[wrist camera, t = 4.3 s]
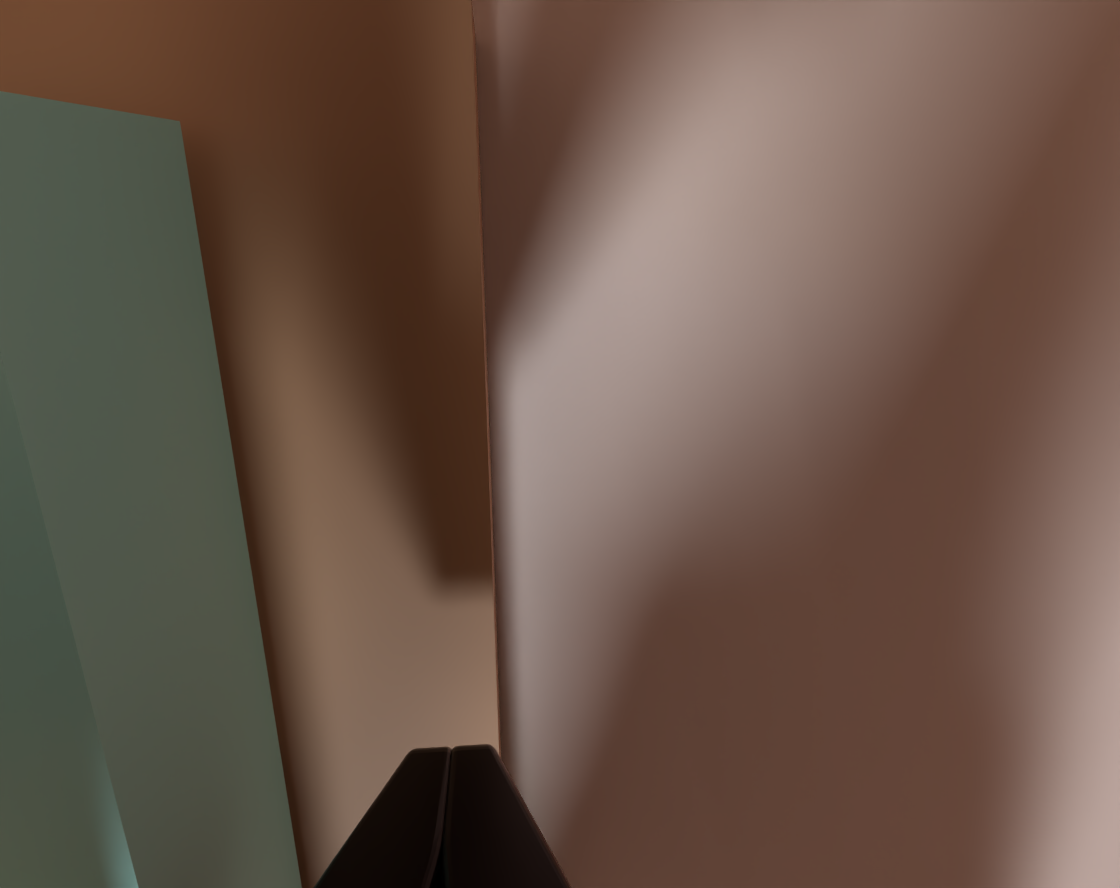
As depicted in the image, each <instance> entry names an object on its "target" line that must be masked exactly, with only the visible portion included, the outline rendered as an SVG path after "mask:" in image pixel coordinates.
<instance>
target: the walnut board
mask: <svg viewBox="0 0 1120 888" xmlns="http://www.w3.org/2000/svg"><path fill="white" fill-rule="evenodd" d="M0 91H3V92H9V93H15V94H21V95H27V96H33V97H39V98H45V99H51V100H56V101H62V102H68V103H74V104H80V105H86V106H92V107H98V108H104V109H110V110H116V111H122V112H128V113H134V114H140V115H146V116H152V117H158V118H164V119H170V120H176V121H180V125H181V131H182V137H183V144H184V150H185V156H186V162H187V169H188V175H189V181H190V188H191V194H192V200H193V206H194V213H195V219H196V225H197V232H198V238H199V244H200V251H201V257H202V263H203V269H204V276H205V282H206V288H207V295H208V301H209V307H210V313H211V320H212V326H213V332H214V339H215V345H216V351H217V357H218V364H219V370H220V376H221V383H222V389H223V395H224V401H225V408H226V414H227V420H228V427H229V433H230V439H231V445H232V452H233V458H234V464H235V471H236V477H237V483H238V489H239V496H240V502H241V508H242V515H243V521H244V527H245V533H246V540H247V546H248V552H249V559H250V565H251V571H252V577H253V584H254V590H255V596H256V603H257V609H258V615H259V622H260V628H261V634H262V640H263V647H264V653H265V659H266V666H267V672H268V678H269V684H270V691H271V697H272V703H273V710H274V716H275V722H276V728H277V735H278V741H279V747H280V754H281V760H282V766H283V772H284V779H285V785H286V791H287V798H288V804H289V810H290V816H291V823H292V829H293V835H294V842H295V848H296V854H297V860H298V867H299V873H300V879H301V886H302V888H313V887H314V886H315V885H316V883H317V882H318V880H319V879H320V877H321V876H322V875H323V873H324V872H325V870H326V869H327V867H328V866H329V865H330V863H331V862H332V860H333V859H334V858H335V856H336V855H337V853H338V852H339V850H340V849H341V848H342V846H343V845H344V843H345V842H346V840H347V839H348V838H349V836H350V835H351V833H352V832H353V830H354V829H355V828H356V826H357V825H358V823H359V822H360V820H361V819H362V818H363V816H364V815H365V813H366V812H367V810H368V809H369V808H370V806H371V805H372V803H373V802H374V800H375V799H376V798H377V796H378V795H379V793H380V792H381V791H382V789H383V788H384V786H385V785H386V783H387V782H388V781H389V779H390V778H391V776H392V775H393V773H394V772H395V771H396V769H397V768H398V766H399V765H400V763H401V762H402V761H403V759H404V758H405V756H406V755H407V754H408V752H410V751H411V750H413V749H416V748H429V747H445V746H446V747H450V748H451V749H453V748H454V747H455V746H462V745H478V744H490V745H492V746H493V747H494V748H495V749H496V750H497V752H498V754H499V756H500V758H501V739H500V711H499V683H498V655H497V627H496V600H495V572H494V544H493V516H492V488H491V460H490V432H489V404H488V376H487V348H486V320H485V292H484V264H483V236H482V209H481V181H480V153H479V125H478V97H477V69H476V41H475V29H474V19H473V9H472V0H0Z"/></svg>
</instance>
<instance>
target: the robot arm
mask: <svg viewBox="0 0 1120 888" xmlns="http://www.w3.org/2000/svg"><path fill="white" fill-rule="evenodd" d="M313 888H571V886H570V884H569V883H568V881H567V879H566V877H565V875H564V873H563V872H562V870H561V868H560V866H559V864H558V862H557V860H556V859H555V857H554V855H553V853H552V851H551V849H550V848H549V846H548V844H547V842H546V840H545V838H544V837H543V835H542V833H541V831H540V829H539V827H538V826H537V824H536V822H535V820H534V818H533V816H532V815H531V813H530V811H529V809H528V807H527V805H526V804H525V802H524V800H523V798H522V796H521V794H520V793H519V791H518V789H517V787H516V785H515V783H514V782H513V780H512V778H511V776H510V774H509V772H508V771H507V769H506V767H505V765H504V763H503V761H502V760H501V758H500V756H499V754H498V752H497V750H496V749H495V748H494V747H493V746H492V745H490V744H478V745H462V746H455V747H454V748H453V749H451V748H450V747H446V746H445V747H429V748H416V749H413V750H411V751H410V752H408V754H407V755H406V756H405V758H404V759H403V761H402V762H401V763H400V765H399V766H398V768H397V769H396V771H395V772H394V773H393V775H392V776H391V778H390V779H389V781H388V782H387V783H386V785H385V786H384V788H383V789H382V791H381V792H380V793H379V795H378V796H377V798H376V799H375V800H374V802H373V803H372V805H371V806H370V808H369V809H368V810H367V812H366V813H365V815H364V816H363V818H362V819H361V820H360V822H359V823H358V825H357V826H356V828H355V829H354V830H353V832H352V833H351V835H350V836H349V838H348V839H347V840H346V842H345V843H344V845H343V846H342V848H341V849H340V850H339V852H338V853H337V855H336V856H335V858H334V859H333V860H332V862H331V863H330V865H329V866H328V867H327V869H326V870H325V872H324V873H323V875H322V876H321V877H320V879H319V880H318V882H317V883H316V885H315V886H314V887H313Z"/></svg>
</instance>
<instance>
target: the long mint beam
mask: <svg viewBox="0 0 1120 888" xmlns="http://www.w3.org/2000/svg"><path fill="white" fill-rule="evenodd" d="M0 888H302V886H301V879H300V873H299V867H298V860H297V854H296V848H295V842H294V835H293V829H292V823H291V816H290V810H289V804H288V798H287V791H286V785H285V779H284V772H283V766H282V760H281V754H280V747H279V741H278V735H277V728H276V722H275V716H274V710H273V703H272V697H271V691H270V684H269V678H268V672H267V666H266V659H265V653H264V647H263V640H262V634H261V628H260V622H259V615H258V609H257V603H256V596H255V590H254V584H253V577H252V571H251V565H250V559H249V552H248V546H247V540H246V533H245V527H244V521H243V515H242V508H241V502H240V496H239V489H238V483H237V477H236V471H235V464H234V458H233V452H232V445H231V439H230V433H229V427H228V420H227V414H226V408H225V401H224V395H223V389H222V383H221V376H220V370H219V364H218V357H217V351H216V345H215V339H214V332H213V326H212V320H211V313H210V307H209V301H208V295H207V288H206V282H205V276H204V269H203V263H202V257H201V251H200V244H199V238H198V232H197V225H196V219H195V213H194V206H193V200H192V194H191V188H190V181H189V175H188V169H187V162H186V156H185V150H184V144H183V137H182V131H181V125H180V121H176V120H170V119H164V118H158V117H152V116H146V115H140V114H134V113H128V112H122V111H116V110H110V109H104V108H98V107H92V106H86V105H80V104H74V103H68V102H62V101H56V100H51V99H45V98H39V97H33V96H27V95H21V94H15V93H9V92H3V91H0Z"/></svg>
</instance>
